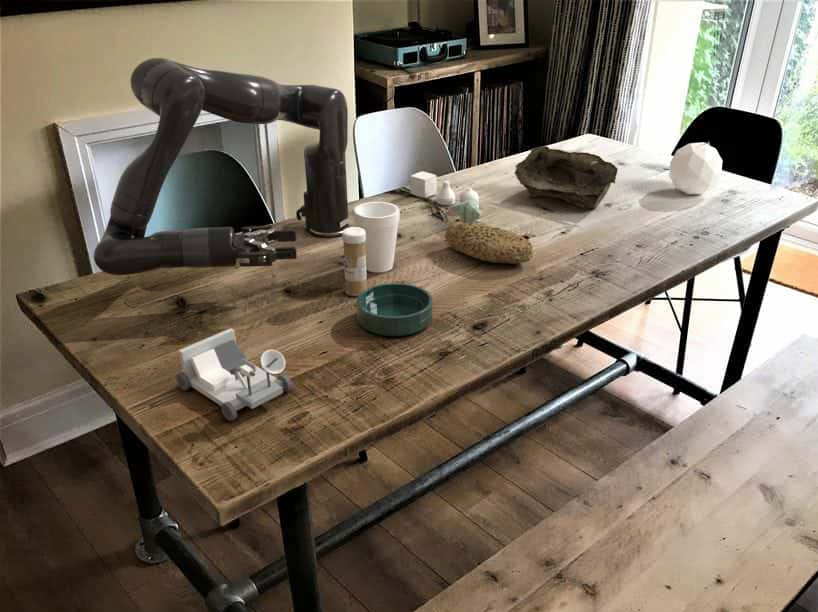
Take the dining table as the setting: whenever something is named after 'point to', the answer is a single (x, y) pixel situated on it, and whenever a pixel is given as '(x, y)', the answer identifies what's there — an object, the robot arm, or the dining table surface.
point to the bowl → (394, 309)
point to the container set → (427, 186)
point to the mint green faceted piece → (468, 211)
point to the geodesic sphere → (695, 168)
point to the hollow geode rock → (566, 175)
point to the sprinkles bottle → (354, 260)
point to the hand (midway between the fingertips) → (296, 243)
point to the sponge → (489, 243)
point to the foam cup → (378, 233)
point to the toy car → (231, 373)
